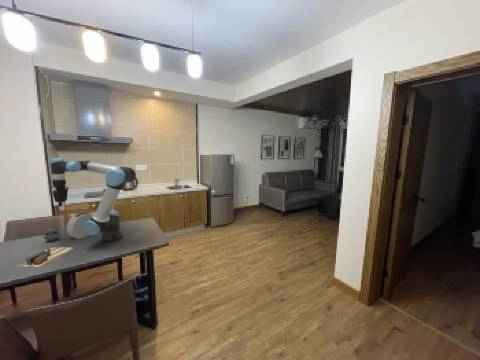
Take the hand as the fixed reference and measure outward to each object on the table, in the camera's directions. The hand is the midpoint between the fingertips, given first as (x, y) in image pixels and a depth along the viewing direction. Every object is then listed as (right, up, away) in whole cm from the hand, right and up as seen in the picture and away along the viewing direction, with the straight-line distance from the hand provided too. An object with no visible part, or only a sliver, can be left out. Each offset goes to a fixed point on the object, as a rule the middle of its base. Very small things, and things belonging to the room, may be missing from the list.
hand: (62, 210), depth 156 cm
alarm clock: (+3, -24, +19) cm, 31 cm away
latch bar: (+4, -28, -22) cm, 36 cm away
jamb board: (+6, -29, -18) cm, 35 cm away
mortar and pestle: (-12, -26, +6) cm, 29 cm away
